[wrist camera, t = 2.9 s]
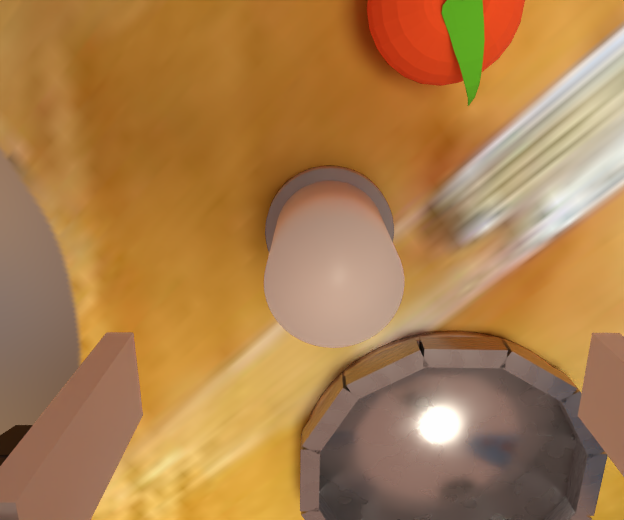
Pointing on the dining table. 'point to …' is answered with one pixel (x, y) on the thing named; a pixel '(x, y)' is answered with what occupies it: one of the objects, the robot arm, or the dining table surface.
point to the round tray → (449, 436)
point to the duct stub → (332, 258)
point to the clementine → (443, 37)
